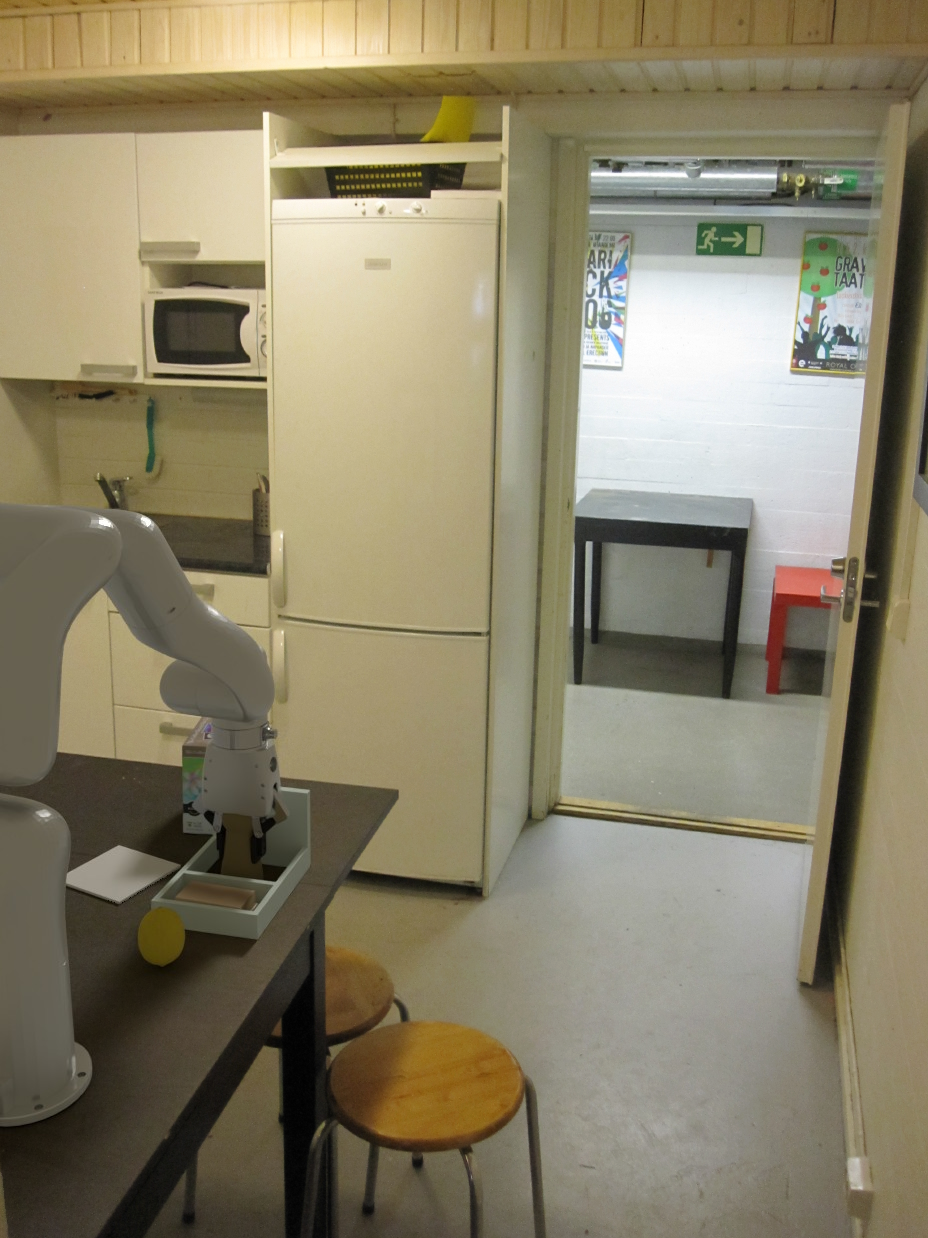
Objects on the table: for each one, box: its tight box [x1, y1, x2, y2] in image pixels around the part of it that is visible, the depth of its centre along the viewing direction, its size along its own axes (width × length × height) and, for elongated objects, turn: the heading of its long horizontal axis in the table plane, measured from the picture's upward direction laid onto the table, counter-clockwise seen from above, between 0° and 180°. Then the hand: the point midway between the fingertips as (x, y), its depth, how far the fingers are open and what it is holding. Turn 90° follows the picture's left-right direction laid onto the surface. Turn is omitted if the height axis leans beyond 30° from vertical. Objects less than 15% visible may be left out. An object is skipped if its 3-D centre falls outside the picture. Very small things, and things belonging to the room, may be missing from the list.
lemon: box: [137, 906, 186, 967], centre depth 130 cm, size 6×6×8 cm
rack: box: [150, 786, 312, 940], centre depth 147 cm, size 20×15×12 cm
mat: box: [66, 844, 182, 905], centre depth 153 cm, size 12×12×1 cm
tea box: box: [181, 716, 213, 835], centre depth 171 cm, size 15×10×15 cm
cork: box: [220, 813, 265, 880], centre depth 149 cm, size 6×6×11 cm
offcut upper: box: [175, 881, 255, 911], centre depth 142 cm, size 5×9×2 cm, turn 76°
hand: (241, 856), depth 150 cm, fingers closed on cork, 4 cm apart
